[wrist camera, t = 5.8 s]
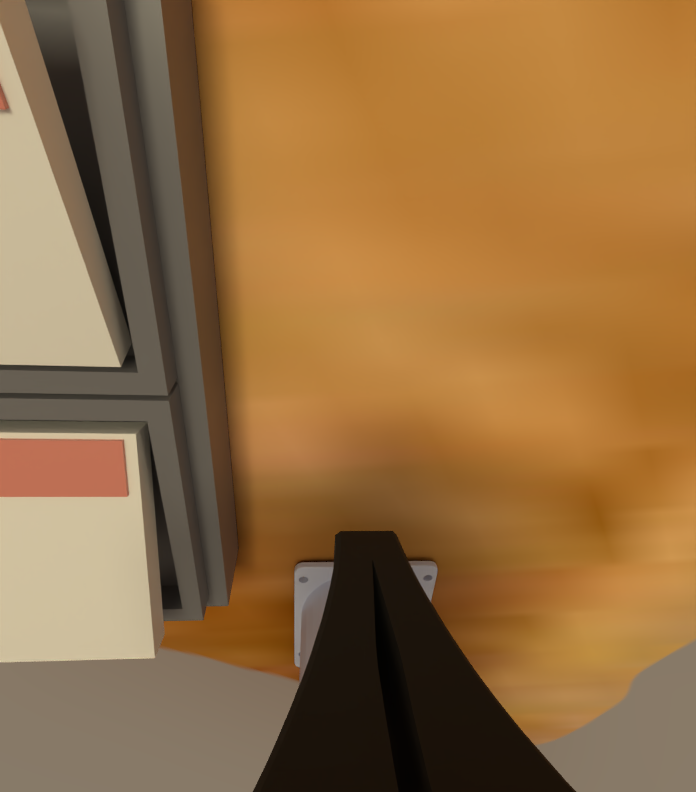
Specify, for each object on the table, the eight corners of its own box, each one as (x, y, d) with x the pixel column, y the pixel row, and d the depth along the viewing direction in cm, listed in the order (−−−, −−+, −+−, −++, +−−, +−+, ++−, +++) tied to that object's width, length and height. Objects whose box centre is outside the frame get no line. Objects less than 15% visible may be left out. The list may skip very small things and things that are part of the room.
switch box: (238, 547, 25) (224, 629, 21) (43, 549, 24) (-11, 634, 20) (186, -60, 13) (129, -141, 9) (-205, -97, 12) (-459, -202, 8)
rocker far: (164, 634, 19) (153, 661, 18) (7, 638, 18) (-16, 665, 17) (147, 422, 17) (134, 435, 15) (-34, 419, 16) (-64, 433, 15)
